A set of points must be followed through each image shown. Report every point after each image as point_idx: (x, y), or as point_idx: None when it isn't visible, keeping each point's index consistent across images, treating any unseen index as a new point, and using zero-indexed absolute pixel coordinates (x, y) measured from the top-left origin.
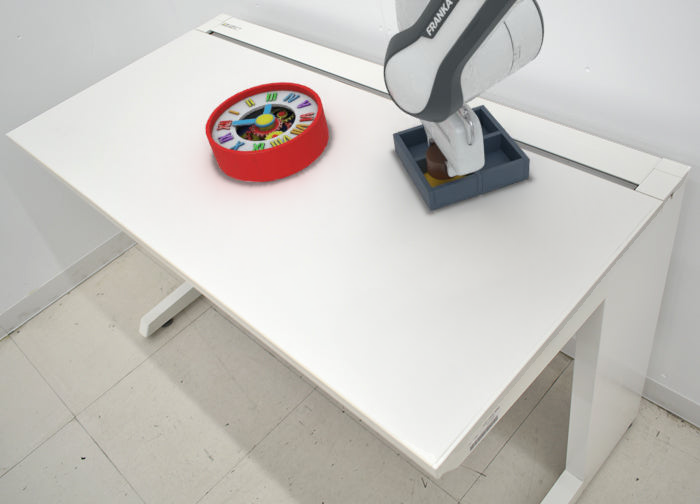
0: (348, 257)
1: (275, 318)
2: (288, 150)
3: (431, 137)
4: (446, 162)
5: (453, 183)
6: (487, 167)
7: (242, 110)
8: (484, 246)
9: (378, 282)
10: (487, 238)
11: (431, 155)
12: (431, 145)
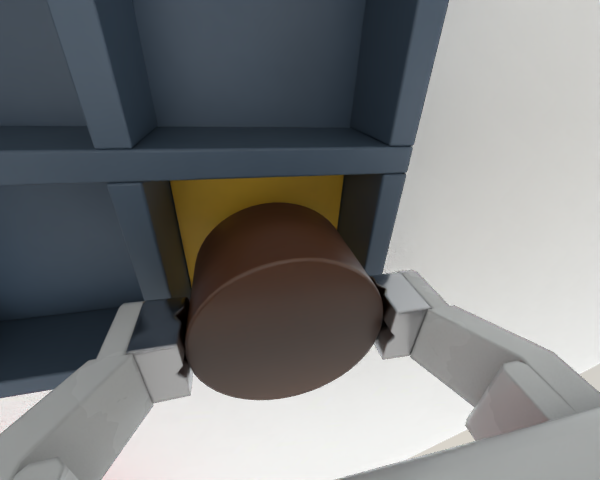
0: (360, 407)
1: (396, 455)
2: None
3: (144, 400)
4: (393, 354)
5: (379, 267)
6: (248, 24)
7: None
8: (513, 207)
9: (433, 376)
10: (503, 191)
11: (284, 384)
12: (192, 374)
